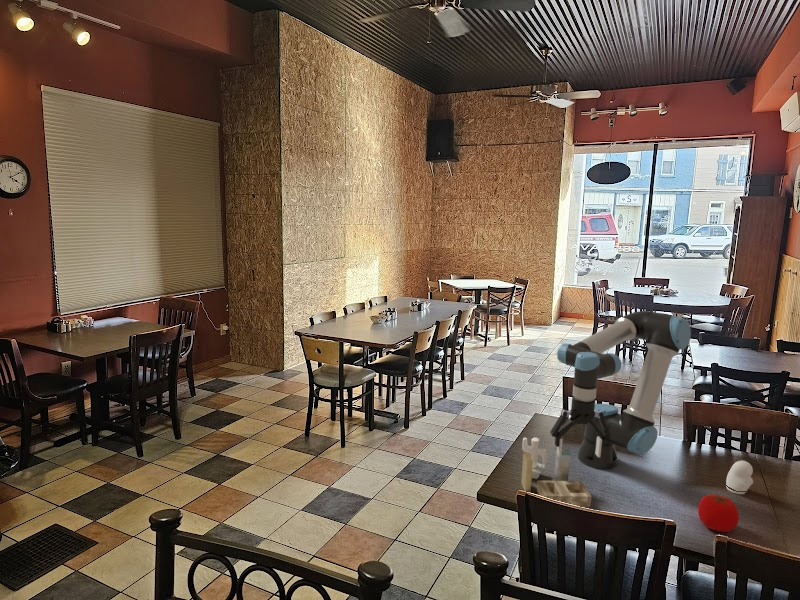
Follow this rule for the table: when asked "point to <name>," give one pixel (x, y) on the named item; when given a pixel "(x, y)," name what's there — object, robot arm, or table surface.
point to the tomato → (718, 513)
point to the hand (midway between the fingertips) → (578, 455)
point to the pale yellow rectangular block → (527, 472)
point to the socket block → (565, 492)
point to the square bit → (562, 465)
